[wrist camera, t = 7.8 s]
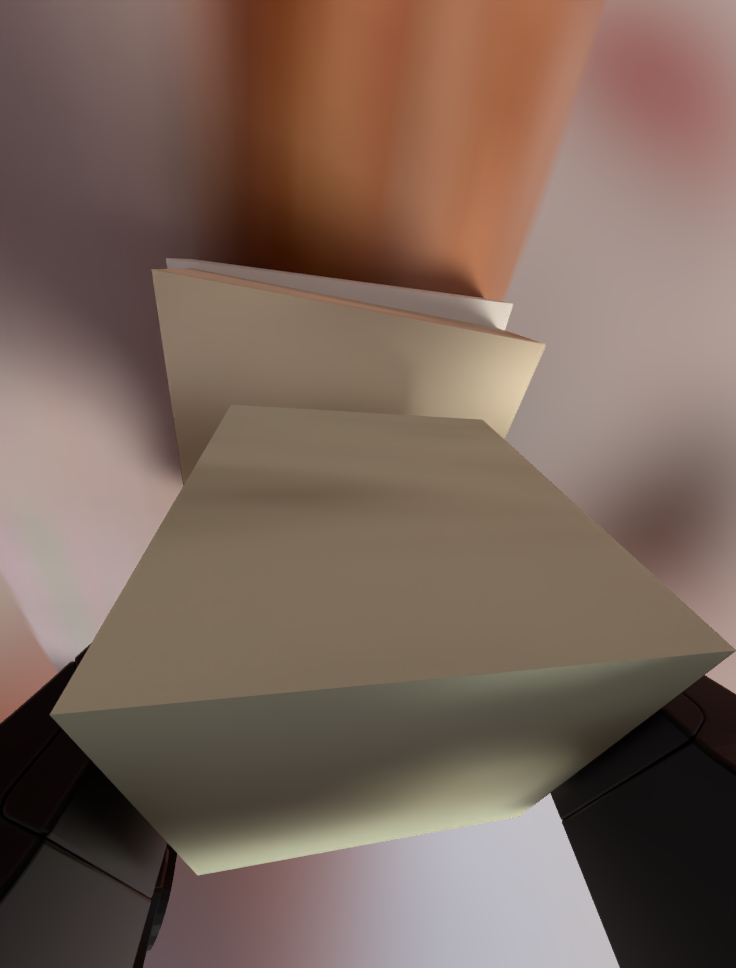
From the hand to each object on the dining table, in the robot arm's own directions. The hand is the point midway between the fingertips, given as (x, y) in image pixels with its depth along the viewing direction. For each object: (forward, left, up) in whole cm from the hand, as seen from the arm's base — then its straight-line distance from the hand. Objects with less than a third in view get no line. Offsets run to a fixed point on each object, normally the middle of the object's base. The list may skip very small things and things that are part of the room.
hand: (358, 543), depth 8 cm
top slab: (0, 0, -6) cm, 6 cm away
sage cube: (0, 0, -1) cm, 1 cm away
